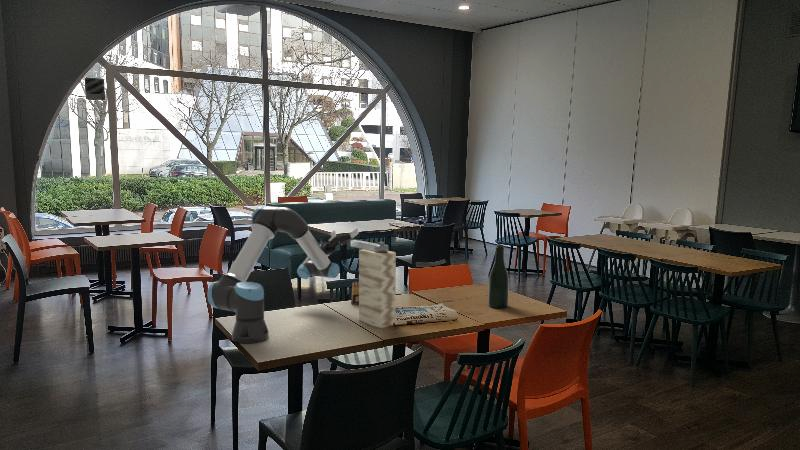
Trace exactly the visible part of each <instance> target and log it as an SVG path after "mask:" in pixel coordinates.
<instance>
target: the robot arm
mask: <svg viewBox="0 0 800 450" xmlns="http://www.w3.org/2000/svg"><path fill="white" fill-rule="evenodd" d="M250 219H251V220H250V223H251V226H250V228H251V233H250V234H249V236H248V237H247V239H246V241H245V242H244V244H243V246H242V248H241V249H240V251H239V253H238V255H237V257H236V258H235V260H234V261H233V263H232V265H231V266H230V268H229V270H228V271H227V273H224V274H222V275H221V277H220V279H219V280H216V281H213V282H212V283H211V284H209V286H208V289H207V293H206V294H207V296H206V297H207V301H208V303H209V305H210V306H212V307H213V308H214V309H218V310H221V311H222V310H223V311H229V312H234V313H235V323H234V326H233V330H232V332H231V341H233V342H234V343H237V344H238V343H239V344H255V343H256V344H257V343H261V342H263V341H266V340H268V339H269V338H270V337H269V336H270V334H269V332H270V331H269V329H268V326H267V323H266V321H265V292H264V287H263V286H262V284H260V283H258V282H254V281H247V280H248V278H249V276H250V275H251V272H252V271H253V269H254V267H255V265H256V264H257V262H258V260H259V258H260V256H261V255H262V253H263V251H264V249H265V247H266V246H267V244H268V242H269V240H273V239H274V238H275V236H276V235H277V232H279V233H286V234H287V235H289V236H290V238H291V239H293V240H295V241H296V242H297V243H298V245H299V246H300V247H301V249H302V250H303V252H304V253H305V254H306V257H305V259H304V260H303V262H301V263H300V264H299V266H298V268H297V270H296V273H297V275H298V277H300V278H301V279H303V280H308V279H309V278H311V276H313V277H321V278H322V277H323V278H329V279H335V278H338V276H339V274H340V272H341V271H340V266H339V264H338V263H335V262H331V260H330V259H329V258H328V257H330V256H331V254H333V253H334V252H335V251H336V248H337V247H338V246H341V247H343V245H346V244H348V243H351V240H357V237H356V236H357V235H358V234H360V232H359V229H358V227H357V228H355V229H353V230H352V231H351V232H349V234H347V235H345V236H342V237H337V232H336V230H332V231H331V232H330V233H329V234H328V235H326V236H323V237H320V242H318V241H317V240H316V239H315V237H314V236H313V234H312V233H311V231H310V230H309V228H310V227H309V225H308V223H307V222H306V221H305V219H304V218H303V217H302V216H301V215H300V214H299V213H298V212H296V211H295V210H294V209H291V208H290V207H284V206H283V207H282V206H271V205H263V206H258V207H256V209H254V210H253V212H252V214H251V218H250ZM336 237H337V238H336Z"/></svg>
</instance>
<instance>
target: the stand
mask: <svg viewBox="0 0 800 450" xmlns="http://www.w3.org/2000/svg"><path fill="white" fill-rule="evenodd" d="M396 256H397V253H396V252H395V251H390V250H388V252H387V253H375V252H374V251H370V250H365V249H359V250H358V283H359V304H358V322H359V321H360V322H361V323H365V324H367V325H370V326H373V327H376V328H377V329H383V328H387V327H391V326H394V325H393V322H395V323H396V287H397V286H396V284H397V283H396V280H397V278H396V275H397V274H396V273H397V271H396V269H397V267H396V266H397V264H396V263H397V262H396V261H397V257H396Z"/></svg>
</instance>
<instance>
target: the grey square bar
mask: <svg viewBox="0 0 800 450" xmlns="http://www.w3.org/2000/svg"><path fill="white" fill-rule="evenodd" d="M350 247H352V248H357V249H360V250H362V249H365V250H370V251H374V252H375V253H387V252H388V251H389V245H388V244H385V242H384V241H379V242H378V243H375V242H368V241H363V240H360V239H354V240H351V241H350Z"/></svg>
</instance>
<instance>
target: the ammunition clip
mask: <svg viewBox="0 0 800 450" xmlns="http://www.w3.org/2000/svg"><path fill="white" fill-rule="evenodd" d="M351 285H352V286H351V299H350V304H352V305H359V282H357V281H353V282H352V283H351Z"/></svg>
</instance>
